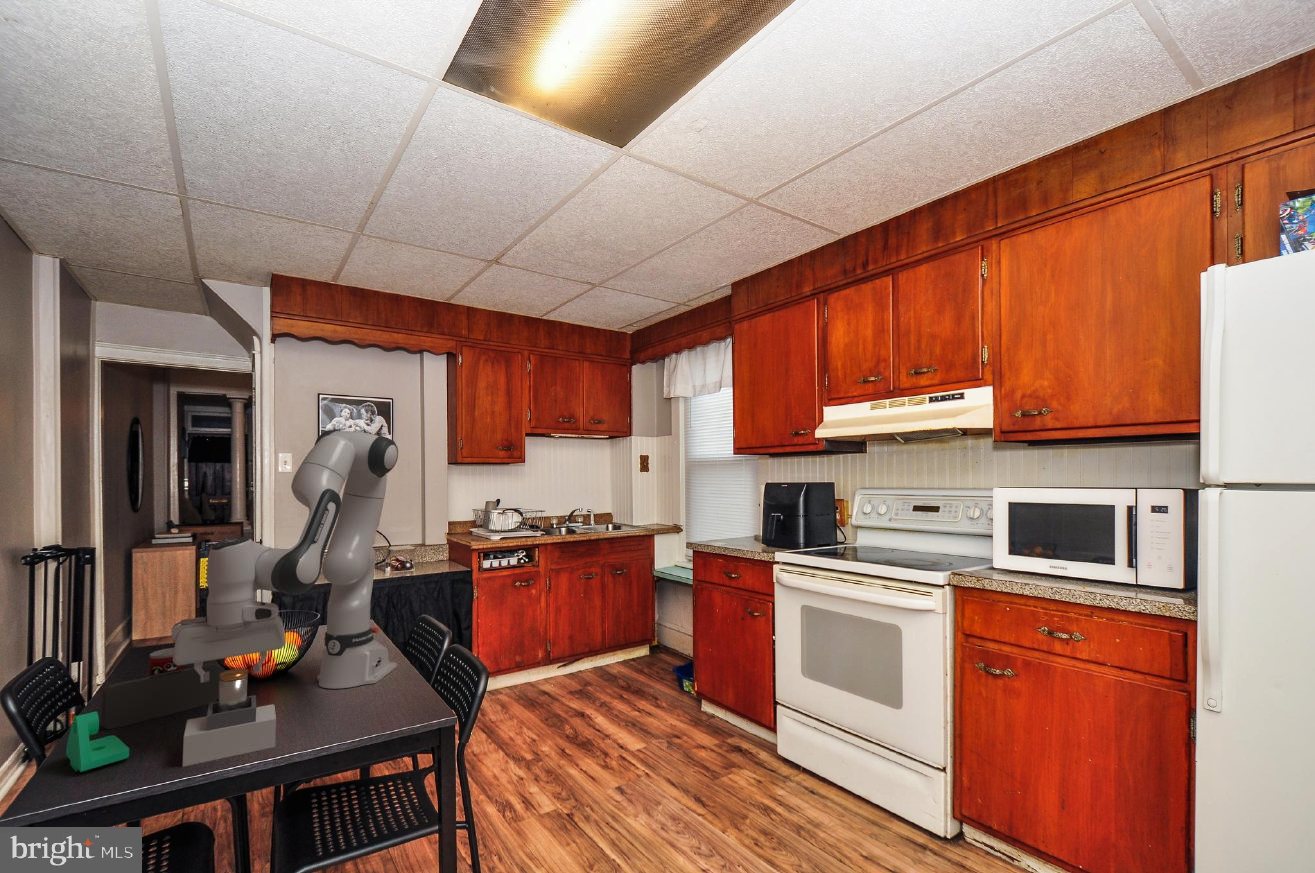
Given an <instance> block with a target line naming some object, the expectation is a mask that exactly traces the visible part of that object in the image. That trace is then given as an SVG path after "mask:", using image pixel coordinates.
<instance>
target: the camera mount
mask: <svg viewBox="0 0 1315 873" xmlns="http://www.w3.org/2000/svg"><path fill="white" fill-rule="evenodd" d="M99 729H100V717H99V714H98V711H92V712H89V713H88V712H87V713H83V714H79V715H75V716H73V718H72V721H71V726H70V730H69V735H68V738H67V743H66V747H65V748H66V749H65V755H66V757H67V758H68V759H69V760H70V761H69V765H70V766H71V768H72V769H73V770H74V771H75V772H77V771H78V772H80V773H82V772H86V771H89V770H92V769H95V768H99V767H102V766H104V765H105V766H106V765H108V764H111V763H112V764H113V763H115V762H119V761H123V760H125V759H128V758H129V756H130V747H128V746H127V745H126V744H125V743H124V742H123V741H122V740H121V739H120V738H118V737H117V736H116V735H108V736H104V737H101V738H97V739H93V740H90V736H91V735H92V736H93V735H95V734H98V732H99Z"/></svg>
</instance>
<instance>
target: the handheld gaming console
mask: <svg viewBox="0 0 1315 873" xmlns="http://www.w3.org/2000/svg"><path fill="white" fill-rule="evenodd" d="M201 668H202V669H203V670H204V671H205V672H209V682H204V683H201V675H199V674H198V672H197V671H196V670H195V669H194V665H193V666H190V667H186V668H184V669H179V670H174V671H170V672H165V673H160V674H155V675H151V676H149V675H147V676H141V677H137V678H132V679H130V680H125V681H120V682H115V683H112V684H110V685H107V686H106V687H105V688H104V689H103V690H102V693H101V694H102V697H101V698H102V699H101V718H100V719H101V720H100V725H101V726H102V727H103V728H105V729H106V730H112V729H117V728H123V727H125V726H130V725H134V724H138V723H142V722H145V721H149V720H154V719H157V718H161V717H165V716H168V715H172V714H176V713H180V712H184V711H189V710H192V709H196V708H199V707H200V708H201V707H203V706H207V705H208V706H209V703H213V702H217V700H219V685H220V674H221V666H219V665H218V664H217V663H214V662H213V663H205V664H203V665H202V667H201Z"/></svg>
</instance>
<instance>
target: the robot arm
mask: <svg viewBox="0 0 1315 873" xmlns="http://www.w3.org/2000/svg"><path fill="white" fill-rule="evenodd" d="M314 442H315V443H314V445H313V447H312V448H310V451H309V452H308V453H307V454H306V456H305V458H304V459H303V460H302V462H301V464H300V465H299V467H298V469H297V471H296V472H295V474H294V476H293V478H292V481H291V487H290V488H291V492H292V494H293V496H294V498H295V499H296V500H297V501H298V502H299V503H301V505H302V506H304V507H306V508H308V512H309V513H308V517H307V520H306V522H305V524H304V527H303V530H302V532H301V534H300V537H299V539H298V540H297V543H295V545H294V546H292V547H291V548H277V547H271V546H266V545H263V544H259V543H257V542H255V541H253V539H252V538H250V537H245V536H238V537H233V538H228V539H227V538H226V539H223V540H220V541H218V542H216V543H215V544H214V545H213V546H211V548H210V549H209V554H208V557H207V562H206V563H207V564H206V585H207V588H208V596H207V598H206V615H205V616H200V617H199V616H198V617H193V618H190V619H189V618H185V619H184V618H183V619H181V620H180V621H178V622H177V623H175V624H174V625H173V626H172V628H171V639H172V640H173V641H174V642H175V643H174V646H173V648H174V653H173V662H174V663H175V664H176V665H178V666H179V665H185V664H186V665H192V664H193V666H194V669H195V670H196V671H197V672H198V674H199V675H201V683H204V682H209V672H205V671H204V670H203V669H202V668H201V667H202V665H204V662H208V661H209V662H210V661H215V660H216V661H217V660H221V659H226V658H233V657H240V656H245V655H251V654H258V653H259V658H260V659H259V660H258V662H256V663H253V674H259V673H262V665H263V663H264V662H265V660H266V658H267V657H268V652H271V651H277V650H281V649H283V648H284V646H285V645H286V635H285V634H286V633H285V627H284V623H283V620H282V617H281V616H280V615H279V610H280V609H279V606H278V604H276V603H274V602H273V603H272V602H265V601H260V600H259V601H257V600H256V592H257V591H258V590H261V591H266V592H267V591H269V592H280V593H285V594H289V595H301V594H304V593H306V592H308V591H309V590H310V589H312V588H313V587H314V586H315V584H316V583H317V581H318V580H319V578H320V576H321V573H322V576H323V577H324V579H325V580H326V581H327V582H328V583H330V584H331V588H330V594H329V599H328V602H327V612H326V613H327V617H326V621H327V622H326V631H325V634H324V646H325V648H324V649H323V651H322V655H321V662H320V669H319V671H320V672H319V673H318V674H317V676H316V680H317V681H318V685H319V687H321V688H324V689H333V690H334V689H345V688H346V689H348V688H353V687H358V686H363V685H371V684H376V683H378V682H379V681H381V680H382V679H383V678H385V677H386V676H387V675H388V674H390V673H391V672H392V671H394V670H395V669H396V668H397V667H398V663H397V662H393V661H391V660H389V659H390V658H389V650H388V648H387V647H386V646H385V645H383V644H381V643H380V642H378V641H377V640H375V637H374V634H378V633H379V631H380V626H377V625H376V626H374V625H373V626H370V625H371V600H372V594H373V593H372V592H373V587H374V586H373V585H374V584H373V583H374V578H375V577H374V576H375V569H376V568H375V567H376V558H377V557H376V551H375V549H374V548H373V544H374V541H375V536H376V534H377V531H378V528H379V526H380V522H381V517H382V511H383V507H384V501H385V498H386V492H387V491H386V490H387V481H388V479H387V478H388V474H389V473H390V472H391V471H392V470H393V469H394V468H395V466H396V464H397V462H398V458H399V449H398V446H397V444H396V442H395V441H394V440H393V439H391V438H389V437H387V436H384V435H380V436H379V435H377V434H372V433H368V432H363V431H352V430H351V431H350V430H349V431H348V430H341V429H329V430H325V431H323V432H322V433H321V434H320V435H318V437H317V438H316V440H315V441H314ZM343 486H344V488H343ZM342 490H343V492H342V497H341V496H340V495H341V494H340V493H341V491H342ZM328 543H329V544H328ZM326 550H327V551H326ZM325 552H326V553H325ZM324 555H325V556H324Z"/></svg>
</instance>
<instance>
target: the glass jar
mask: <svg viewBox="0 0 1315 873" xmlns="http://www.w3.org/2000/svg"><path fill="white" fill-rule="evenodd" d="M248 672H249V670H248V669H246V668H233V669H228V670H225V671H223V672H220V679H219V698H218V702H219V710H218V713H221V712H227V711H233V710H238V709H244V708H246V701H247V697H248V674H249V673H248Z"/></svg>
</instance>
